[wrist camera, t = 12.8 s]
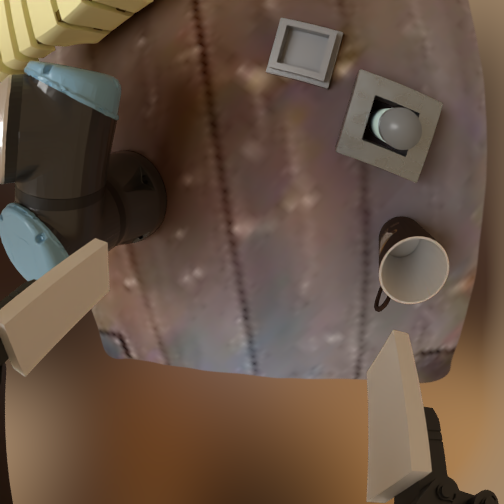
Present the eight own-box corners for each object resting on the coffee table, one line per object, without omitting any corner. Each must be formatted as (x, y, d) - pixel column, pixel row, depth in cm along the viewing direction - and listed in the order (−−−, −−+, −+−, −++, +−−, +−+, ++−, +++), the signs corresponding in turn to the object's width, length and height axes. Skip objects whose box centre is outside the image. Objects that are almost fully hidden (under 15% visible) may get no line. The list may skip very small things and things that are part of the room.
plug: (372, 104, 35) (388, 100, 24) (401, 115, 34) (427, 117, 24) (363, 132, 37) (375, 140, 26) (392, 143, 36) (414, 156, 26)
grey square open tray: (267, 72, 36) (262, 70, 34) (282, 19, 32) (278, 13, 30) (327, 88, 35) (327, 87, 33) (343, 34, 32) (343, 28, 29)
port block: (335, 146, 38) (335, 151, 33) (356, 75, 34) (360, 69, 28) (405, 173, 37) (416, 183, 32) (428, 104, 33) (443, 103, 27)
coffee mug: (409, 196, 38) (428, 221, 30) (438, 244, 40) (459, 279, 31) (342, 242, 44) (342, 277, 35) (374, 286, 45) (379, 327, 36)
